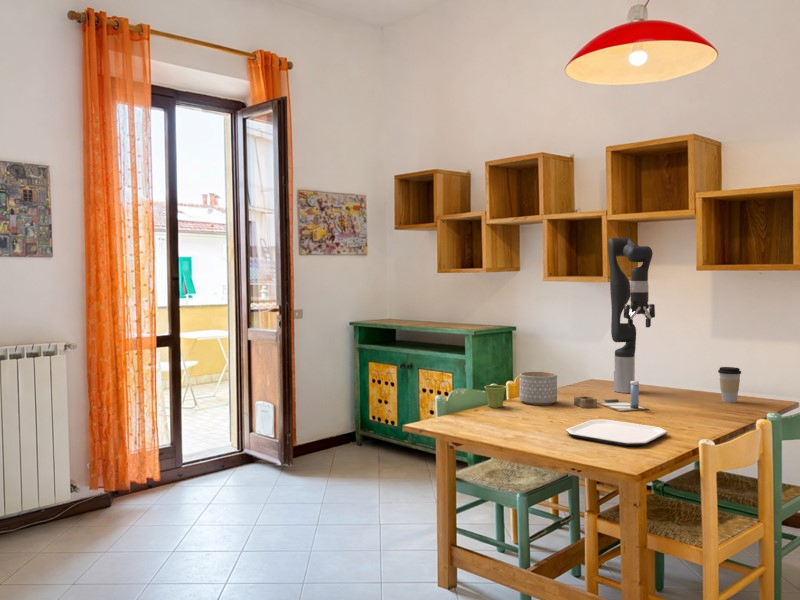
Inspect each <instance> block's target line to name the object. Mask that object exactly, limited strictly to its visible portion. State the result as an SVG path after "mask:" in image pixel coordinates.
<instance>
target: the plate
mask: <svg viewBox="0 0 800 600" xmlns="http://www.w3.org/2000/svg"><path fill="white" fill-rule="evenodd" d="M565 432H567V433H568V434H569V435H570V436H573V437H575V438H578V439H583V440H588V441H593V442H594V441H595V442H601V443H606V444H610V445H611V444H612V445H616V446H617V445H618V446H624V447H639V446H643V445H646V444H649V443H651V442H652V441H654V440H656V439H659V438H660V437H663V436H665V435H667V434H669V433H668V431H667V430H665V429H664V428H661V427H659V426H653V425H646V424H640V423H639V424H638V423H633V422H628V421H627V422H625V421H620V420H612V419H590V420H586V421H585V422H582V423H579V424H576V425H574V426H571V427H568V428H566V429H565Z"/></svg>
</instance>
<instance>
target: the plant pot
mask: <svg viewBox="0 0 800 600" xmlns="http://www.w3.org/2000/svg"><path fill="white" fill-rule="evenodd" d="M506 389H507V385H500V384H499V385H498V384H490V385H489V384H488V385H485V386H484V390H485V393H486V399H487V400H486V401H487V406H488V407H490V408H492V409H493V408H502V407H504V406H503V405H504V398H505V392H506Z"/></svg>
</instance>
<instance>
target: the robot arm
mask: <svg viewBox="0 0 800 600" xmlns="http://www.w3.org/2000/svg"><path fill="white" fill-rule="evenodd" d="M618 257H626V259H627V260H628V261H629V262H630V263H641V265H640V266H638V267H634V268H632V269H631V271H630V272H631V273H630V275H631V276H630V280H629V279H628V277H627V275H626V274H625V273H624V272H623V270H622V269H621V267H620V265H619V261H618ZM607 258H608V264H609V265H608V266H609V278H610V279H609V282H610V283H609V285H610V287H609V288H610V303H611V304H610V305H611V323H610V324H611V325H610V326H611V327H610V329H611V330H610V331H611V339H612V341H613V342H614V343H625V344H624V345H623V346H622V347H619V348H617V349H615V350H614V371H613V391H614V392H617V393H622V394H623V393H624V394H631V384H630V381H636V380H635V379H636V377H635V374H636V370H635V369H636V367H635V366H636V359H635V358H636V349H637V348H636V345H637V343H636V341H637V328H636V326H635V324H634V319H633V318H634V317H635V316H636V315H643V316H644V318H645V328H650V327H651V325H652V318H656V307H655V304H654V303H649V268H650V265H651V262H652V258H653V249H652V248H651V247H650V246H643V245H642V246H640V245H638V244H635V243H634V242H633V240H631V239H630V238H629V237H610V238H609V239H608V240H607ZM630 281H631V282H630ZM629 301H630V304H628V302H629ZM630 309H631V310H630ZM622 313H623V318H624V319H626V320H627V322H624V323H623V322H621V318H622Z"/></svg>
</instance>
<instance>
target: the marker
mask: <svg viewBox="0 0 800 600" xmlns="http://www.w3.org/2000/svg"><path fill="white" fill-rule="evenodd" d="M630 384H631V393H630V403H631V405H630V408H633V409H638V408H639V406H640V405H639V399H640V397H639V396H640V395H639V394H640V393H639V391H640V389H639V387H640V381H639V380H635V381H630Z"/></svg>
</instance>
